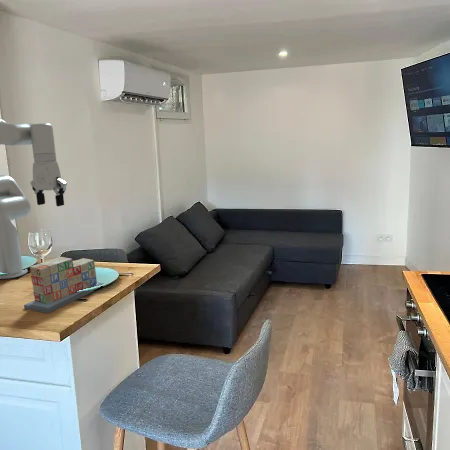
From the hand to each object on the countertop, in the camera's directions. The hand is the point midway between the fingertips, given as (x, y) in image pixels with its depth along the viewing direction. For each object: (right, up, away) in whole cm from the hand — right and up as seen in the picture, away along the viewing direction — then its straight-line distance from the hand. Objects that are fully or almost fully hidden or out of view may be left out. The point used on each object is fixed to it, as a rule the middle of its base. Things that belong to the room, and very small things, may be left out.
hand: (50, 205), depth 167 cm
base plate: (+9, -32, -9) cm, 35 cm away
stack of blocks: (+9, -31, -8) cm, 34 cm away
